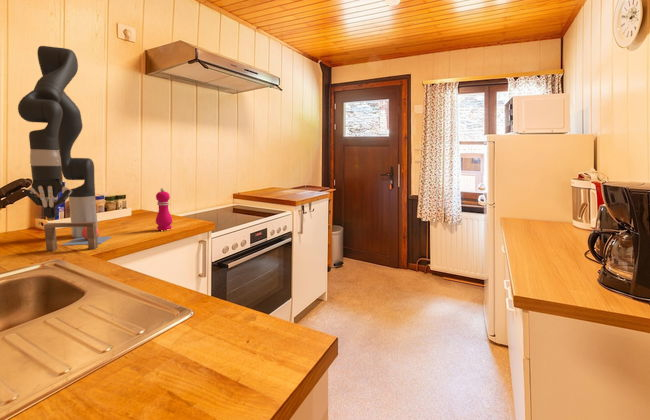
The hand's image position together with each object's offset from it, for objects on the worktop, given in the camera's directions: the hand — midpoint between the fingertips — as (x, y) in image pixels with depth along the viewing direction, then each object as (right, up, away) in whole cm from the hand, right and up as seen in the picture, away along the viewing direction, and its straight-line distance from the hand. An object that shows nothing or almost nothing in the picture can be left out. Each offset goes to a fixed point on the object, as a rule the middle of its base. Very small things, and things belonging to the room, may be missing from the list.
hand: (51, 218), depth 110 cm
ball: (-7, -7, +29) cm, 31 cm away
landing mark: (-7, -10, +28) cm, 30 cm away
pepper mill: (+12, -7, +52) cm, 54 cm away
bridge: (-4, -12, +14) cm, 19 cm away
